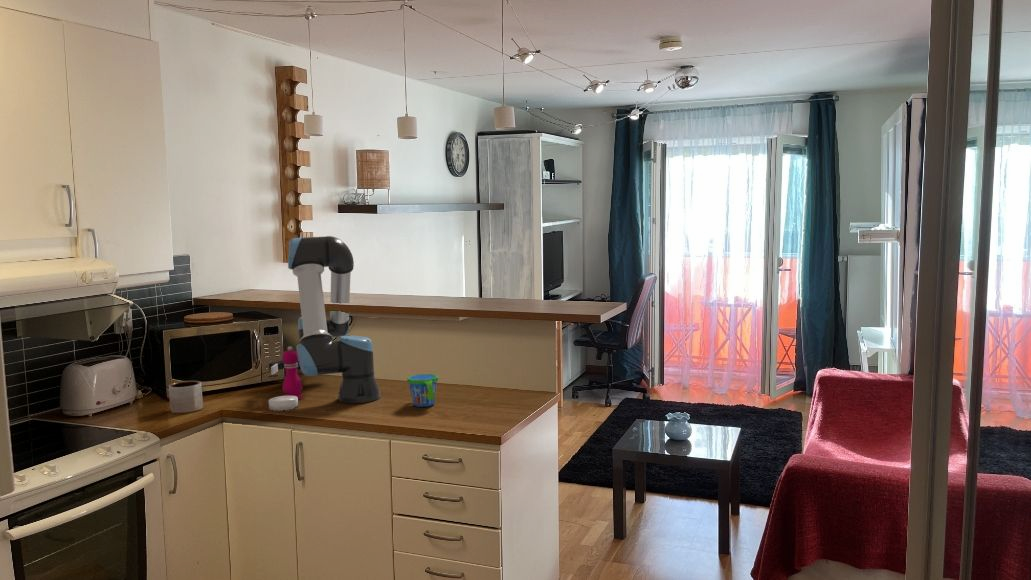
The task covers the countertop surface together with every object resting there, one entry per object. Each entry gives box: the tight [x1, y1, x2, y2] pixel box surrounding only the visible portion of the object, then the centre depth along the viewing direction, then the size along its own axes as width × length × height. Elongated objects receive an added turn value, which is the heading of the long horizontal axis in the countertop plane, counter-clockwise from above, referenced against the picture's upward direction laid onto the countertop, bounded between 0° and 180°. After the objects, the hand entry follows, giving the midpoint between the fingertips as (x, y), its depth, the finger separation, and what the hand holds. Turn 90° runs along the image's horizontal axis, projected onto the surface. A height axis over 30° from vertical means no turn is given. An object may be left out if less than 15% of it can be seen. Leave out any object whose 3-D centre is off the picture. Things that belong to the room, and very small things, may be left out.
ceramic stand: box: [268, 395, 299, 412], centre depth 278 cm, size 10×10×3 cm
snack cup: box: [406, 373, 439, 408], centre depth 274 cm, size 16×10×10 cm
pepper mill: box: [281, 345, 304, 400], centre depth 289 cm, size 7×7×20 cm
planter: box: [168, 380, 204, 414], centre depth 278 cm, size 11×11×10 cm
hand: (290, 370), depth 288 cm, fingers open, 13 cm apart
